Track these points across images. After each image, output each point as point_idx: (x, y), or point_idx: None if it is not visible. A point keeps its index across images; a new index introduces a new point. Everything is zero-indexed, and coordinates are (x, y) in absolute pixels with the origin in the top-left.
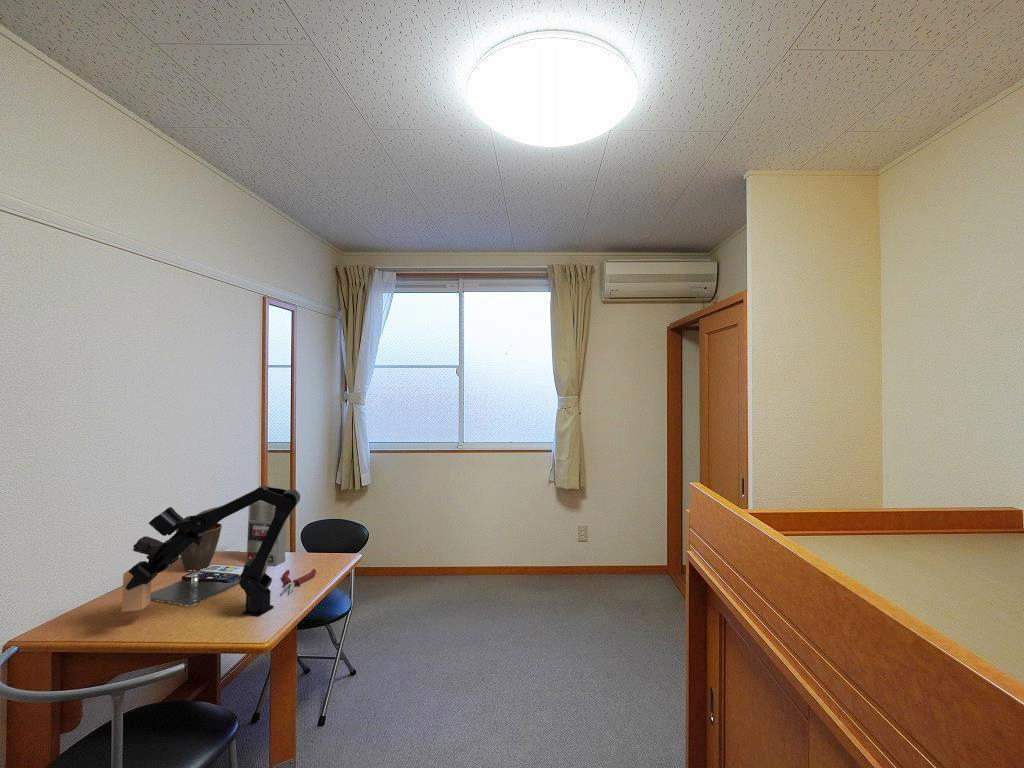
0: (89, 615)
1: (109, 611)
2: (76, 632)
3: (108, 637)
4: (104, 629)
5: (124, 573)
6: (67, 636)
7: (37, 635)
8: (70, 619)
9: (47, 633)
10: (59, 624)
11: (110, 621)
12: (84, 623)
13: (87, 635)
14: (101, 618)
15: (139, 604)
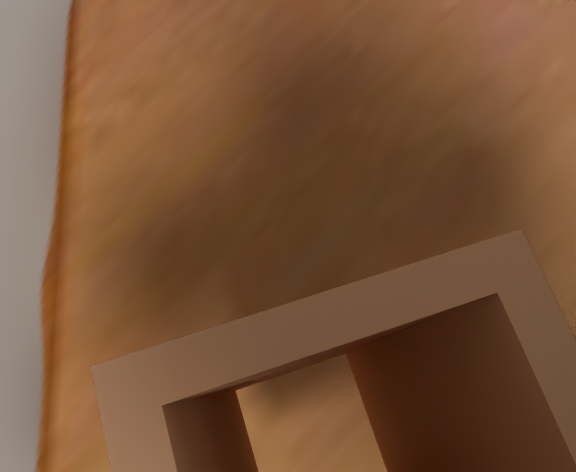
0: (356, 59)
1: (417, 121)
2: (161, 160)
3: (96, 412)
4: (200, 288)
5: (127, 366)
6: (115, 152)
7: (129, 5)
8: (302, 9)
9: (150, 30)
10: (246, 4)
11: (302, 234)
12: (265, 112)
13: (125, 252)
14: (331, 151)
15: None
